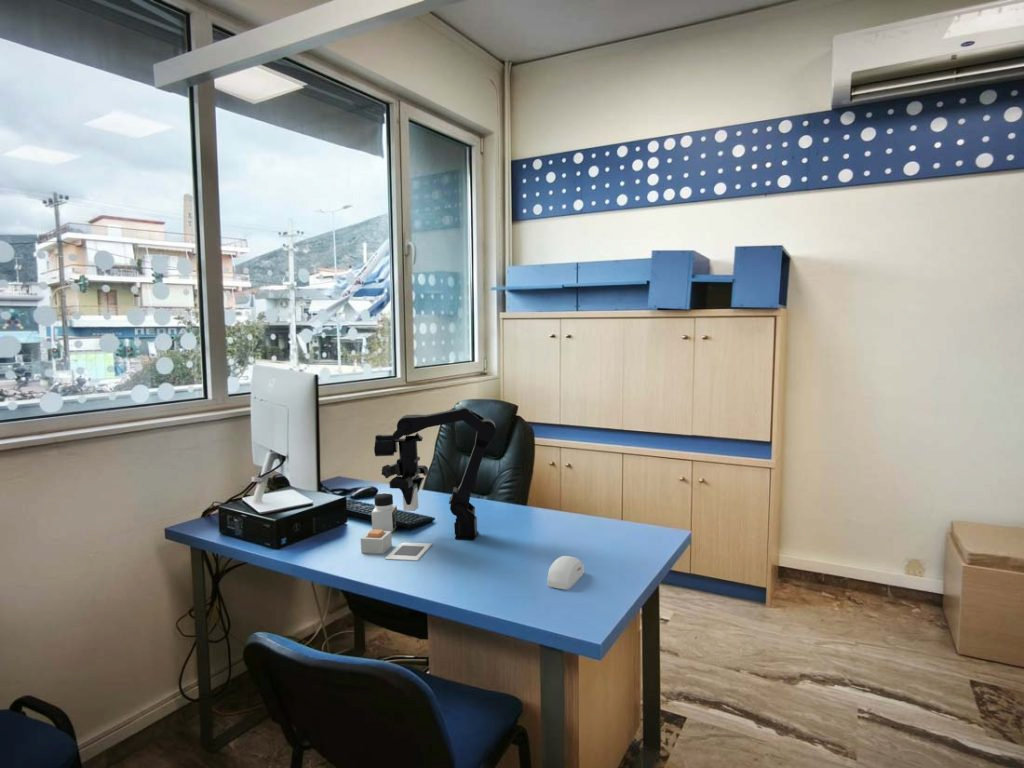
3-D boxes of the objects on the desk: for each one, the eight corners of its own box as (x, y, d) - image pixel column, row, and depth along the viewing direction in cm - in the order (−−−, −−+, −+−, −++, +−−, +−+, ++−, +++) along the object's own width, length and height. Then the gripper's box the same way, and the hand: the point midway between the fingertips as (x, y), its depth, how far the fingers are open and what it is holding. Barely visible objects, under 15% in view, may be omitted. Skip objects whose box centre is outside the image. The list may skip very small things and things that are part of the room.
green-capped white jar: (418, 507, 197) (417, 483, 196) (414, 510, 194) (413, 486, 193) (407, 507, 198) (406, 483, 197) (403, 510, 194) (402, 486, 194)
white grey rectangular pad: (431, 544, 191) (431, 543, 191) (417, 561, 179) (417, 559, 178) (401, 543, 193) (401, 541, 193) (385, 559, 181) (385, 557, 181)
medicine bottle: (393, 532, 204) (391, 497, 203) (372, 532, 204) (370, 497, 203) (397, 524, 211) (396, 491, 210) (377, 525, 211) (375, 491, 210)
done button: (384, 537, 190) (383, 529, 190) (379, 541, 187) (378, 533, 186) (373, 536, 191) (372, 529, 191) (368, 540, 187) (367, 533, 187)
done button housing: (391, 545, 192) (391, 531, 191) (382, 553, 185) (382, 539, 185) (371, 544, 193) (370, 530, 193) (361, 552, 186) (360, 538, 186)
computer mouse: (586, 573, 167) (585, 550, 166) (567, 592, 155) (566, 568, 155) (564, 569, 170) (563, 547, 169) (544, 587, 159) (543, 564, 158)
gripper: (396, 448, 205) (398, 493, 206) (372, 461, 186) (375, 511, 188) (427, 448, 202) (429, 494, 204) (406, 462, 184) (409, 512, 186)
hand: (410, 502), depth 196 cm, fingers closed on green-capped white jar, 4 cm apart
